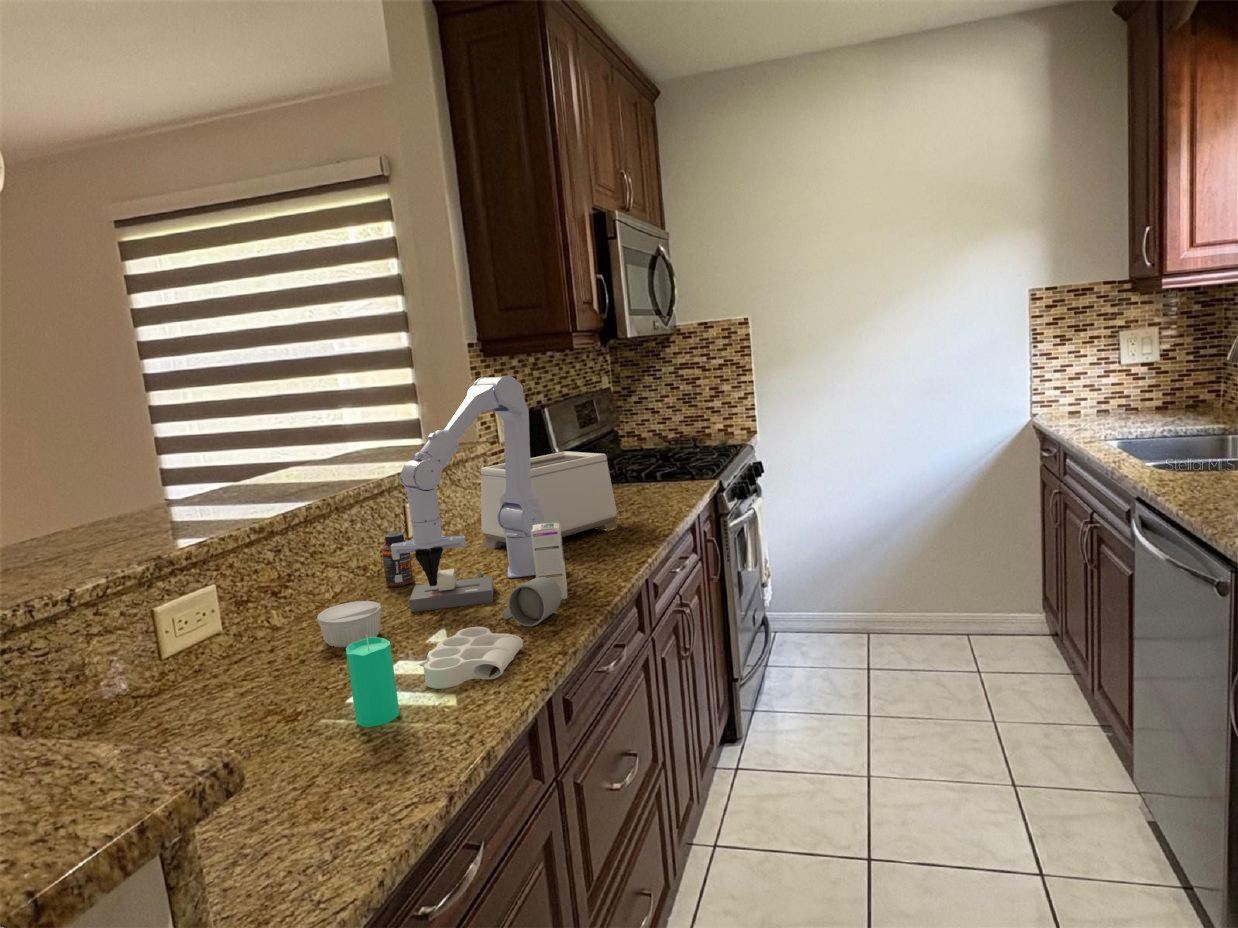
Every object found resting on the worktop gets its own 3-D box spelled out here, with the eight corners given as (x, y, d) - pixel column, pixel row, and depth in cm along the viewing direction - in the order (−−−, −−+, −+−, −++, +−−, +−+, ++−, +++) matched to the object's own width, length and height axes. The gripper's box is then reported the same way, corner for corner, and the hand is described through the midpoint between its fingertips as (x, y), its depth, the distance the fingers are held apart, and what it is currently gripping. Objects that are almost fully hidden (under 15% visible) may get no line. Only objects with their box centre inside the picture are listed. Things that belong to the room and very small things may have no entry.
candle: (361, 709, 114) (349, 629, 112) (403, 704, 114) (392, 624, 112) (350, 729, 108) (338, 645, 106) (395, 723, 108) (384, 640, 106)
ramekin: (358, 652, 137) (354, 623, 136) (306, 648, 141) (302, 620, 140) (397, 628, 147) (393, 601, 147) (348, 625, 151) (344, 599, 151)
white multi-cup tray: (495, 690, 117) (403, 691, 120) (529, 644, 135) (448, 645, 137) (493, 669, 117) (400, 670, 119) (527, 625, 134) (446, 627, 137)
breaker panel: (494, 576, 176) (493, 564, 176) (492, 602, 158) (491, 589, 158) (421, 584, 174) (419, 573, 174) (410, 612, 156) (409, 599, 156)
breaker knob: (455, 581, 164) (454, 568, 164) (454, 588, 159) (452, 575, 159) (441, 583, 164) (439, 570, 163) (439, 590, 159) (437, 577, 158)
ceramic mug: (566, 612, 148) (561, 572, 147) (547, 627, 141) (542, 586, 140) (516, 610, 152) (511, 572, 151) (495, 625, 145) (489, 585, 144)
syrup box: (567, 599, 156) (560, 527, 154) (537, 602, 155) (530, 530, 153) (567, 590, 161) (560, 521, 159) (538, 593, 161) (531, 524, 159)
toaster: (628, 526, 214) (621, 451, 211) (526, 557, 191) (518, 473, 188) (581, 519, 228) (575, 448, 225) (481, 546, 205) (473, 468, 202)
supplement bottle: (406, 587, 173) (399, 537, 172) (381, 588, 175) (374, 538, 173) (418, 579, 179) (412, 530, 178) (394, 579, 181) (387, 531, 179)
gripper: (385, 527, 154) (394, 594, 156) (460, 519, 156) (468, 586, 158) (390, 520, 161) (399, 584, 163) (462, 512, 163) (470, 576, 165)
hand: (433, 584), depth 161 cm, fingers closed
